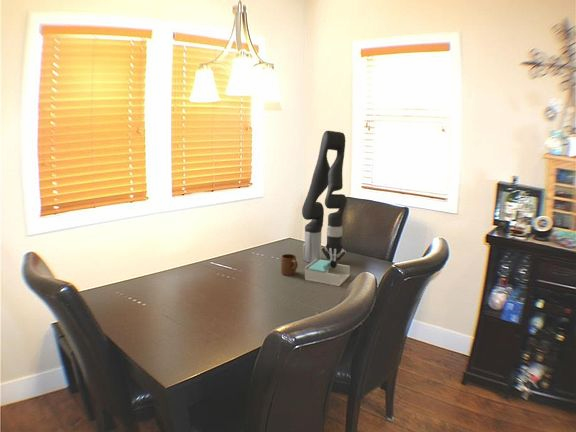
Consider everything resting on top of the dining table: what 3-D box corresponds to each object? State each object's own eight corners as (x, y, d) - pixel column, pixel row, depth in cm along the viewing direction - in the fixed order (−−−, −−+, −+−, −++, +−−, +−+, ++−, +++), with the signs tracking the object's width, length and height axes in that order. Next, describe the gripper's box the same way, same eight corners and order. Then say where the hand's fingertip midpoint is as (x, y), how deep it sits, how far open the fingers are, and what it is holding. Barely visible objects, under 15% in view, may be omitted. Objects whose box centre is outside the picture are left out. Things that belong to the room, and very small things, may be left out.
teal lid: (308, 269, 221) (308, 264, 220) (320, 260, 234) (320, 255, 233) (324, 272, 217) (324, 267, 217) (335, 263, 230) (335, 258, 230)
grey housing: (304, 279, 223) (304, 267, 221) (316, 270, 236) (316, 258, 235) (339, 286, 215) (339, 273, 214) (349, 275, 228) (350, 263, 227)
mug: (303, 277, 226) (303, 259, 224) (290, 280, 222) (290, 262, 220) (291, 270, 236) (291, 253, 234) (278, 272, 232) (278, 255, 230)
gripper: (350, 234, 219) (348, 267, 223) (325, 230, 225) (324, 263, 229) (344, 237, 213) (343, 272, 217) (319, 234, 218) (318, 267, 222)
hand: (333, 267), depth 223 cm, fingers closed
